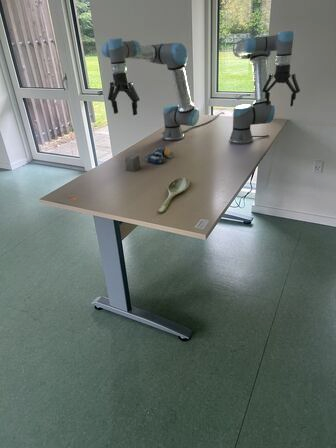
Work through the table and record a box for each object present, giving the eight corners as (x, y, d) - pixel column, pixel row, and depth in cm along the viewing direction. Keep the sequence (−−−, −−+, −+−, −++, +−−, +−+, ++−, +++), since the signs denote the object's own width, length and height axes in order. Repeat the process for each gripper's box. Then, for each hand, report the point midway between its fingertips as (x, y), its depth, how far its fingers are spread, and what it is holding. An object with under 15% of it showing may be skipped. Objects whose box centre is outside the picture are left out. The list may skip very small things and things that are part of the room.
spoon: (171, 216, 152) (170, 213, 151) (149, 214, 155) (149, 210, 154) (193, 181, 178) (193, 177, 177) (174, 179, 182) (174, 176, 180)
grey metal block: (126, 170, 201) (124, 157, 197) (132, 166, 205) (130, 154, 201) (134, 171, 198) (132, 158, 194) (140, 168, 202) (139, 155, 198)
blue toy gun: (178, 153, 218) (158, 152, 224) (177, 147, 215) (157, 146, 222) (164, 166, 202) (142, 164, 209) (163, 159, 200) (141, 157, 206)
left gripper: (97, 73, 177) (104, 114, 188) (134, 73, 165) (139, 117, 176) (106, 71, 182) (112, 111, 193) (143, 71, 170) (147, 113, 181)
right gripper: (258, 65, 182) (255, 105, 193) (305, 64, 170) (300, 107, 181) (262, 63, 187) (260, 102, 198) (309, 62, 175) (303, 104, 186)
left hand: (125, 114), depth 185 cm, fingers open, 13 cm apart
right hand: (279, 105), depth 190 cm, fingers open, 13 cm apart
